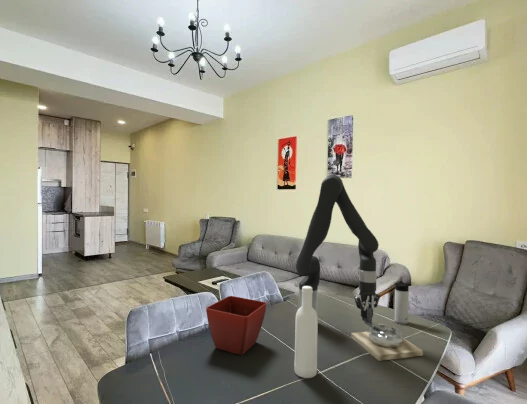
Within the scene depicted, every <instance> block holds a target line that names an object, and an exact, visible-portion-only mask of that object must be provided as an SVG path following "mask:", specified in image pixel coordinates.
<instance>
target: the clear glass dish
mask: <svg viewBox="0 0 527 404" xmlns="http://www.w3.org/2000/svg"><path fill="white" fill-rule="evenodd" d="M361 319H362V321H363V322H364V324H365V325H366V326H369V327H368V331H369V340H370V341H371V342H372V343H374V344H376V345H378V346H382V347H386V348H398V347H400V346H401V345H402V337H403V333H402V332H401V331H400V328H398V327H396V326H391V328H389V327H386V324H385V323H378V324H376V323H375V322H373V317H372V308H370V307H368V305H367V306H366V319H364V318H362V317H361Z"/></svg>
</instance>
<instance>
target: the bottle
mask: <svg viewBox="0 0 527 404" xmlns="http://www.w3.org/2000/svg"><path fill="white" fill-rule="evenodd" d="M312 293H313V290H312V287H310V286H303V287H302V306H301V307H300V308H299V309H298V311H297V310H296V313H295V322H294V323H295V325H294V326H295V327H294V329H295V332H294V334H295V335H294V362H293V363H294V364H293V365H294V368H293V369H294V373H295V375H297V376H298V377H300V378H303V379H312V378H314V377H315V376H317V373H318V329H319V328H318V325H319V323H318V322H319V317H318V312H317V313H316V311H315V310H314V309H313V307H312Z"/></svg>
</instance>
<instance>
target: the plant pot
mask: <svg viewBox="0 0 527 404" xmlns="http://www.w3.org/2000/svg"><path fill="white" fill-rule="evenodd" d="M205 309H206V311H205V313H206V318H207V323H208V328H209V331H210V336H211V338H212V341H213V344H214V347H215V349H217V350H222V351H225V352H228V353H231V354H235V355H240V356H243V355H244V354H245V353H247V352H248V351H249V349H251V348H252V347H253V346H254V345H255V344H256V343H257V340H258V338H259V335H260V332H261V329H262V326H263V324H264V323H263V322H264V319H265V314H266V310H267V302H266V301H261V300H255V299H250V298H245V297H239V296H234V295H228V296H226V297H224V298H222V299H220V300H218V301H217V302H214V303H213V304H211V305H208V306H206V308H205Z"/></svg>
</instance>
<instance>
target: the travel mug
mask: <svg viewBox="0 0 527 404" xmlns="http://www.w3.org/2000/svg"><path fill="white" fill-rule="evenodd" d="M409 287H410V283H408V282H397V283H395V286H394V322H395V323H396V324H398V325H401V326H402V325H403V326H406V325H408V324H409V296H410V295H409Z"/></svg>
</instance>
